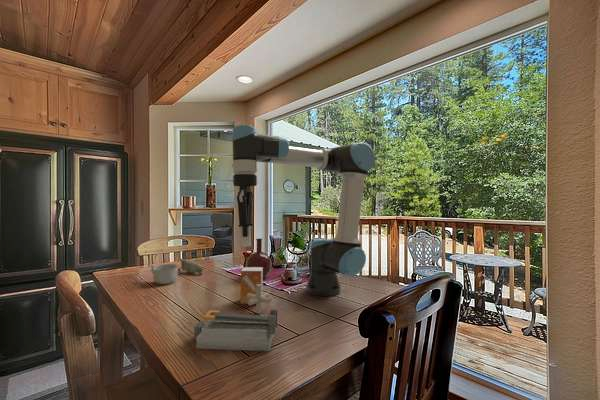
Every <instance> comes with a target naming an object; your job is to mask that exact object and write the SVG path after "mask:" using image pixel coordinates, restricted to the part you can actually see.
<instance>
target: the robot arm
mask: <svg viewBox="0 0 600 400" xmlns="http://www.w3.org/2000/svg"><path fill="white" fill-rule="evenodd" d="M256 129H257V128H256V127H255V126H253V125H249V124H239V125H236V126H234V127H233V129H232V136H231V137H232V139H231V141H232V164H231V167H232V172H233V173H234V174H233V176H232V183H233V184H232V185H233V186H234V187H239V189H238V192H237V195H236V201H237V208H238V209H237V211H238V212H237V213H238V221H239V224H238V228H239V227H240V229H241V230H240V231H241V235H240V236H241V241H240V242H241V247H242V248H243V247H245V248H249V247H251V246H252V239H251V238H252V236H251V234H252V233H251V232H252V231H251V227H253V226H254V223H253V199H254V196H253V191H252V189H251V187H256V186H257V184H258V179H257V178H258V177H257V174H256V173H257V172H258V171H257V170H258V168H257V163H269V164H270V163H271V164H282V165H291V166H301V167H307V168H309V167H310V168H316V169H317V170H318V171H319V170H320V171H326V172H332V173H339V176H340V177H341V179H342V183H341V191H340V200H339V212H338V221H337V229H336V230H337V232H336V236H334V238H326V239H324V238H322V239H315V240H312V241H311V244H310V274H309V277H308V281H307V284H306V292H307V293H308V294H310V295H314V296H321V297H322V296H323V297H325V296H326V297H328V296H329V297H331V296H332V297H333V296H335V295H338V294H340V293H341V290H342V289H341V283H340V281H339V280H340V279H339V276H338V274H341V275H343V276H349V277H353V276H356V275H358V274H360V272H361V271H362V270H363V269H364V267H365V265H366V262H367V261H366V260H367V256H366V253H365V251H364V249H363V248H361V247H362V241H361V240H360V239H359V232H360V231H359V229H360V218H361V211H362V210H361V208H362V199H363V189H364V181H365V180H366V179H367V178H368V176H369V171H370V170H372V169H373V167H375V164H376V154H375V152H374V149H372V146H371V145H370V144H368V143H367V142H363V141H361V142H360V141H359V142H353V143H350V144H345V145H340V146H336V147H331V148H324V147H320V148H319V149H314V148H307V147H299V146H293V145H292V146H291V145H290V142H289V140H288V138H286V137H284V136H280V135H270V134H268V135H267V134H262V133H261V134H259V133H257V130H256Z"/></svg>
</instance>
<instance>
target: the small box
mask: <svg viewBox="0 0 600 400" xmlns="http://www.w3.org/2000/svg"><path fill="white" fill-rule="evenodd" d="M263 278H264V277H263V267H246V266H245V267H242V268H241V270H240V304H241V305H247V304H248V300H250V299H248V298H247V294H248V293H250V294H254V295H256V285H257V284H261V285H262V290H261V295H262V294H263V286H264V285H263V284H264V281H263ZM254 305H256V303H255V304H254Z"/></svg>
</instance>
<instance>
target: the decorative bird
mask: <svg viewBox="0 0 600 400" xmlns="http://www.w3.org/2000/svg"><path fill="white" fill-rule="evenodd" d="M178 261H180V264H181V265H180V268H179V267H177V273H180V272H186V273H188V274H196V273H197V274H198V275H200V276H202V275H203V266H202V264H200V263H198V262H195V261H192V260H191V261H190V260H187V259H185V258H181V257H180V258H178Z"/></svg>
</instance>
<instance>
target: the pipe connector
mask: <svg viewBox="0 0 600 400" xmlns="http://www.w3.org/2000/svg"><path fill="white" fill-rule="evenodd" d="M261 290H262V291H263V288H262V285H261V284H257V285H256V295H254V294H250V293H248V294H247V298H248V299H250V300H248V306H253V305H256V307H255V313H256V314H257V315H259V314H261V313H262V303H265V304H271V303H272V298H271V297H270V293H269V292H268V291H267V292H265V293H262V295H261ZM269 297H270V298H269ZM255 303H256V304H255Z"/></svg>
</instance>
